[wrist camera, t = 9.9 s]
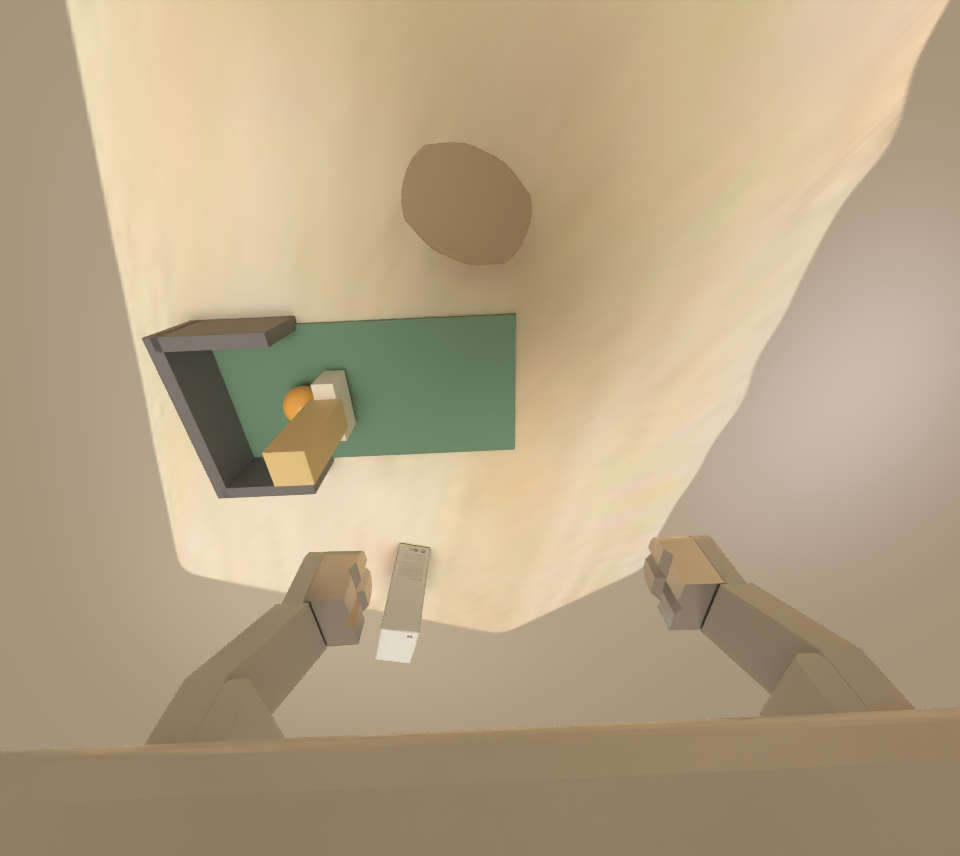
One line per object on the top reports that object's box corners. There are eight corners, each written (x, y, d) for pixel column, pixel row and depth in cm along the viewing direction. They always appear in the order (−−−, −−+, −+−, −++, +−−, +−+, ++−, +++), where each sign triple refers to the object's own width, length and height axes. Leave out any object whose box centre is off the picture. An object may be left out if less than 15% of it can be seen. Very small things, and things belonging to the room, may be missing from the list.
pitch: (189, 328, 36) (186, 329, 35) (514, 313, 36) (515, 314, 35) (243, 459, 43) (241, 461, 43) (514, 447, 43) (514, 449, 43)
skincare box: (399, 542, 50) (380, 627, 39) (430, 547, 50) (420, 632, 40) (392, 572, 53) (373, 660, 42) (423, 577, 53) (411, 664, 43)
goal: (190, 320, 35) (141, 338, 30) (294, 316, 35) (264, 332, 30) (249, 464, 43) (218, 498, 38) (334, 460, 43) (315, 493, 38)
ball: (269, 389, 36) (289, 399, 34) (308, 376, 39) (329, 385, 36) (281, 425, 38) (301, 437, 36) (318, 411, 41) (338, 421, 38)
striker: (318, 371, 37) (255, 434, 26) (349, 369, 37) (298, 433, 26) (332, 424, 40) (280, 502, 29) (360, 423, 40) (319, 500, 29)
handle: (492, 257, 33) (506, 281, 20) (422, 227, 32) (390, 232, 19) (514, 198, 31) (547, 182, 18) (441, 163, 30) (419, 119, 17)
